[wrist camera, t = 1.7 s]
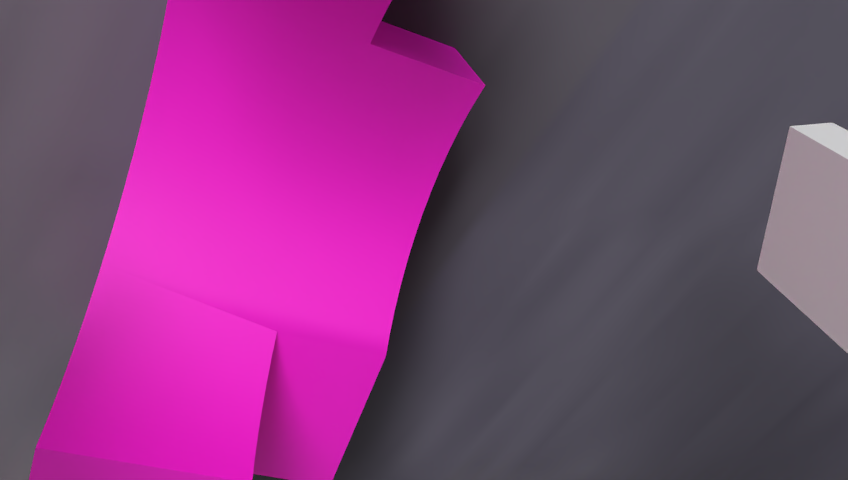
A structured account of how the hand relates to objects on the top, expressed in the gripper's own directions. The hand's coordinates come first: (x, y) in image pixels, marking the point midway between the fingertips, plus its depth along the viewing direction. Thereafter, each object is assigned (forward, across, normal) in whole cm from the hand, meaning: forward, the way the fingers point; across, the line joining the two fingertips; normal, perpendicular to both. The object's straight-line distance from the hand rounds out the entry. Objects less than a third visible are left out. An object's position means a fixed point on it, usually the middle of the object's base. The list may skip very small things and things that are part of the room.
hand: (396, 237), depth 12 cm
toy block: (+8, +2, 0) cm, 8 cm away
